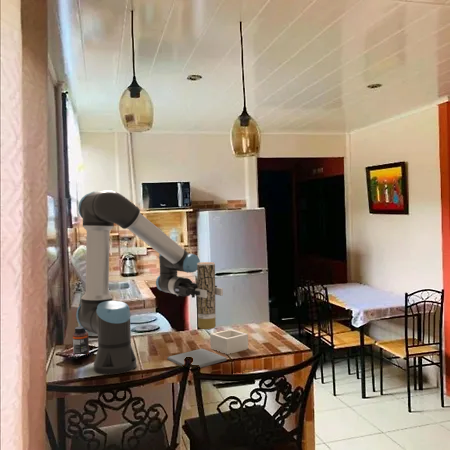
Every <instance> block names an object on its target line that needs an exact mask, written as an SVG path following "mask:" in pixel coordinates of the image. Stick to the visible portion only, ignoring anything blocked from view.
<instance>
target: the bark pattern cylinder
mask: <svg viewBox="0 0 450 450" xmlns="http://www.w3.org/2000/svg"><path fill="white" fill-rule="evenodd" d="M215 263H216V262H215V261H214V262H212V261H211V262H210V261H206V262H204V261H200V263H198V264H197V271H196V273H197V275H196V276H197V278H196V279H197V283H196V284H197V286H198V289H202V290H206V291H207V298H203V297H198V296H197V327H198V328H199V329H201V330H212V329H215V327H216V324H217V322H216V319H217V318H216V316H217V315H216V295H215V286H216V264H215Z"/></svg>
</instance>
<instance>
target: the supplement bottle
mask: <svg viewBox="0 0 450 450" xmlns="http://www.w3.org/2000/svg"><path fill="white" fill-rule="evenodd" d="M72 347H73V348H72V349H73V354H74V353H75V354H87V356H88V354H89V355H90V342H89V331H87V330H85V329H84V328H82V327H81V326H80V325H79V326H77V327H76V326H75V328H74V333H73V334H72Z"/></svg>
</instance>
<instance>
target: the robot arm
mask: <svg viewBox="0 0 450 450" xmlns="http://www.w3.org/2000/svg"><path fill="white" fill-rule="evenodd" d="M77 207H78V208H77V209H78V211H77V212H78V215H79V216H80V218H81V219H82V227H83V228H84V230H85V231H86V249H85V252H86V253H85V254H86V255H85V293H84V294H83V295H82V296H81V298H80V304H79V306H78V307H77V309H76V317H75V318H76V321H77V323H78V325H79V326H81V327H82V328H84V329H85V331H86V332H88V333H94V334H96V335H97V344H98V345H97V351H96V355H95V358H94V362H93V371H94V372H95V373H97V374H101V375H118V374H123V373H127V372H130V371H132V370H134V369H136V368H137V364H138V363H137V357H136V355H135V353H134V350H133V347H132V336H131V331H132V330H131V309H130V306H129V305H128V304H127V302H124V301H117V300H113V296H112V295H111V293H110V292H109V285H110V284H109V283H110V281H109V280H110V276H109V275H110V236H111V234H110V232H111V230H112V229H113V228H114V224H116V225H117V226H119V227H120V228H122V229H123V230H126V229H127V230H129V231H130V232H131V233H133V234H134V235H135V236H136V237H137V238H139V239H140V240H141V241H143V243H145V244H146V245H148V246H149V247H150V248H152V249H153V250H154V251H155V252H156V253H158V256H159V257H158V259H159V275H158V276H157V278H156V280H155V285H156V288H157V289H158V290H159V291H160V292H161V291H162V292H164V293H169V294H173V295H176V297H179V296H181V297H190V296H191V298H195V297H197V298H198V297H203V298H207V291H206V290H202V289H198V286H197V283H195V282H193V281H192V280H191V279H190V278H188V277H183V276H178V272H181V273H182V272H183V273H187V274H188V273H196V272H197V264H198V263H200V262H201V261H200V258H199V256H198V255H197V254H195V253H189V252H188V251H187V250H185V249H184V248H183V247H182V246H180V245H179V244H178V243H177V242H176V241H175V240H173V239H172V238H171V237H170V236H169V235H167V234H166V233H165V232H163V231H162V230H161V229H160V228H159V227H157V226H156V225H155V224H154V223H153V222H151V221H150V220H149V219H148V218H147V217H145V216H144V215H143V214H142V213H141V208H139V207H138V206H137V205H136V204H134V203H133V202H132V201H131V200H129V199H128V198H127V197H125V196H124V195H122V194H121V193H119V192H117V191H115V190H114V191H113V190H102V191H101V190H99V191H98V190H97V191H92V192H89V193H86V194H85V195H83V197H81V199H80V200H79V202H78V206H77ZM223 290H224V288H222V287H218V285H215V296H223V295H224V293H223V292H224V291H223Z"/></svg>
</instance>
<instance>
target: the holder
mask: <svg viewBox="0 0 450 450" xmlns="http://www.w3.org/2000/svg"><path fill="white" fill-rule="evenodd" d="M209 336H210V337H209V339H210V349H212V350H214V351H216V350H217V352H219V351H220V353H222V354H224V353H225V355H231V354H234V353H238V352H242V351H246V350H248V349H249V334H248V333H245V332H242V331H240V330H236V329H232V328H229V329H226V330H225V329H224V330H221V331H218V332H213V333H212V332H211V333H210V334H209ZM230 353H231V354H230Z"/></svg>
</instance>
